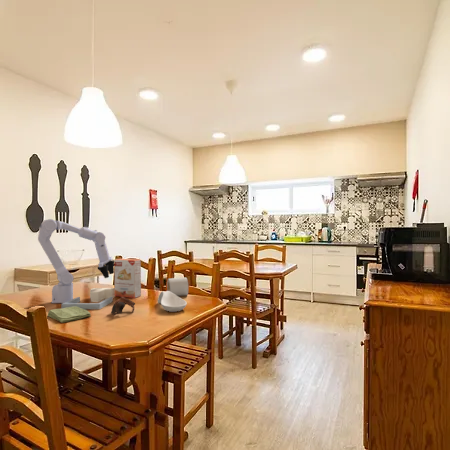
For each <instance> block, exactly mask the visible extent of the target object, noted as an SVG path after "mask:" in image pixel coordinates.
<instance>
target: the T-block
mask: <svg viewBox="0 0 450 450" xmlns="http://www.w3.org/2000/svg"><path fill="white" fill-rule="evenodd" d="M89 293H90V295H89V297H90V303H100V302H102V301H104V300H105V299H107V298H109V297H113V299H114V298H115V297H116V296H115V287H95V288H94V287H93V288H91V289H90V291H89Z"/></svg>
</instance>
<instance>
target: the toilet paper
mask: <svg viewBox="0 0 450 450" xmlns="http://www.w3.org/2000/svg"><path fill="white" fill-rule="evenodd" d="M166 285H167V286H166V288H167V290H166V291H170V292H172V293H173V294H175V295H177V296H178V297H182V296H183V297H184V296H188V294H189V280H188V278H187V277H173V278H168V279H167V283H166Z"/></svg>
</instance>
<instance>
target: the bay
mask: <svg viewBox="0 0 450 450" xmlns="http://www.w3.org/2000/svg"><path fill="white" fill-rule="evenodd" d="M113 299H114V298H113V297H109V298H107V299H103V300H101V301H99V302H89V303H83V302H81V297H80V296H77V297H73V299H72V300H70V301H67V302H65V303H61V309H62V308H68V307H73V306H74V307H75V306H77V307H80V308H81V309H84V310H101V309H103V308H104V307H106V306H108V305H109V304H111V303H113V302H114V301H113Z"/></svg>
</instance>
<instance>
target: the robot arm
mask: <svg viewBox="0 0 450 450" xmlns="http://www.w3.org/2000/svg"><path fill="white" fill-rule="evenodd" d="M38 230H39V231H38V235H37V241H38V243H39V244H40V246H41V247H42V249H43V252H44V253H45V254H46V256H47V259H48V260H49V262H50V263H51V265H52V267H53V268H54V271H55V273H56V276H57V280H58V283H57V284H55V285H53V286H52V289H51V302H50V303H51V304H63V303H65V302H67V301H70V300H72V299H74V283H73V281H74V279H75V278H74V275H73V274H72V273H71V272H69V270H68V268H66V266H65V264H64V263H63V261H62V259H61V257H60V256H59V253H58V252H57V250H56V248H55V247H54V245H53V243H52V241H51V237H52V234H53V233H54V232H55V231H56V230H57V231H58V230H64V231H68V232H71V233H75V234H77V235H78V237H80V238H83V239H85V240H89V241H92V242H93V243H94V246H95V249H96V253H97V254H96V255H97V257H98V260H99V263H97V264H98V267H97V270H98V271H99V272H101V274H102V276H103V278H104V279H108V278H109V277H110V276H109V275H112V274H115V259H114V260H113V258H112V256H110V253H109V249H108V246H107V243H106V235H105V234H104V233H103V232H100V231H99V232H98V230H97V229H95V230H94V229H90V228H89V226H83V227H77V226H75V225H72V224H70V223H67V222H65V221H62V220H61V221H60V220H54V219H52V218H49V219H45V220H43V221H42V222H41V224H40V226H39V228H38Z"/></svg>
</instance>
